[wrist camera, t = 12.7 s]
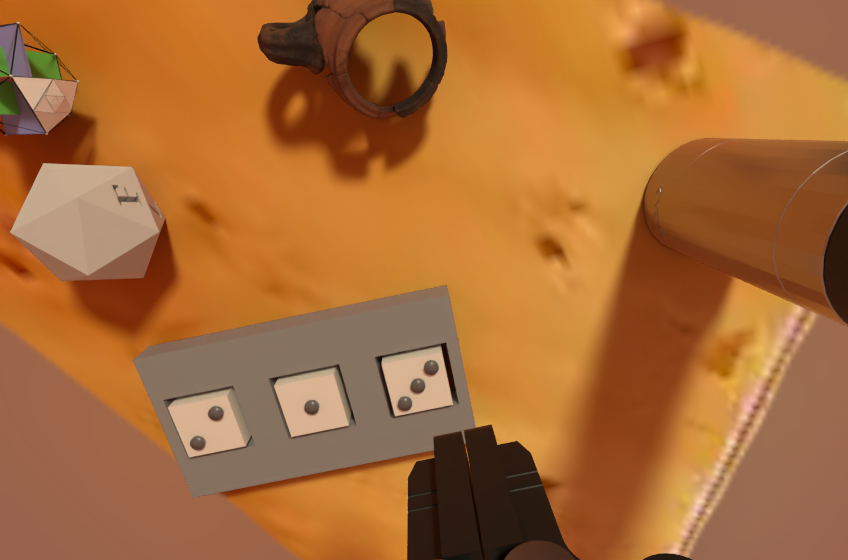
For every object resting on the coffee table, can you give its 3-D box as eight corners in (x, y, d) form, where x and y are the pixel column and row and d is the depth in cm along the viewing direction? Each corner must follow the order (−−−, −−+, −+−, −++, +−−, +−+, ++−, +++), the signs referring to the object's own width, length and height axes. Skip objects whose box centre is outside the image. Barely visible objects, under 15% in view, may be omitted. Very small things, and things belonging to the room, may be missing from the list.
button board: (446, 284, 40) (449, 294, 37) (474, 424, 44) (478, 441, 42) (148, 346, 40) (132, 359, 38) (204, 478, 45) (193, 497, 42)
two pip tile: (238, 377, 41) (225, 397, 38) (256, 425, 43) (244, 448, 40) (184, 388, 42) (166, 409, 38) (203, 435, 43) (187, 459, 40)
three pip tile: (439, 336, 41) (442, 353, 38) (449, 386, 43) (453, 406, 39) (383, 348, 41) (381, 366, 38) (395, 397, 43) (395, 418, 40)
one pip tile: (338, 357, 41) (333, 375, 38) (352, 405, 43) (348, 427, 40) (283, 368, 41) (273, 388, 38) (299, 416, 43) (290, 439, 40)
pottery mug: (415, -55, 33) (461, -33, 27) (419, 83, 39) (458, 124, 34) (236, -37, 30) (246, -8, 24) (273, 107, 37) (288, 157, 31)
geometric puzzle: (-40, 137, 33) (-53, 136, 27) (-73, 29, 31) (-95, 3, 25) (83, 134, 37) (94, 133, 31) (61, 39, 35) (68, 19, 29)
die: (187, 273, 39) (176, 236, 31) (67, 312, 35) (16, 281, 27) (150, 185, 40) (130, 124, 31) (28, 214, 36) (-34, 153, 27)
